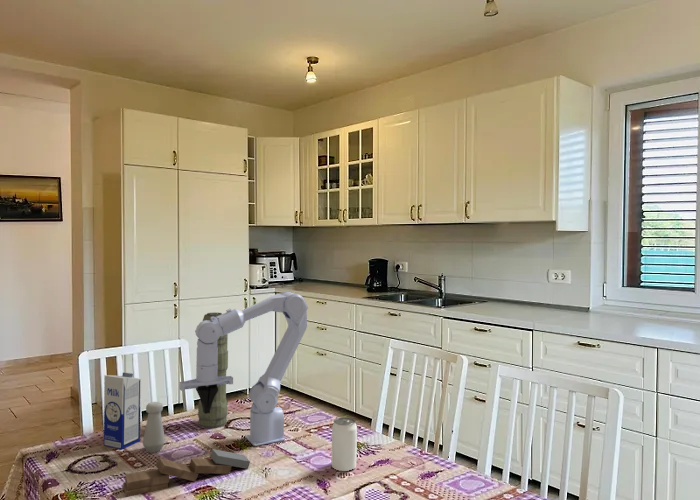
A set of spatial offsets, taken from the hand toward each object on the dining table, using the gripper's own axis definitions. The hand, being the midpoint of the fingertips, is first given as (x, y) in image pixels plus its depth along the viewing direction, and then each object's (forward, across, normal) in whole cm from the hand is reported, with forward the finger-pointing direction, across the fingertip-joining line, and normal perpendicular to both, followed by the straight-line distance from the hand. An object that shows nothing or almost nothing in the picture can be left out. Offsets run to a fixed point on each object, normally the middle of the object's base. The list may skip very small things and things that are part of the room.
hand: (206, 412), depth 144 cm
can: (+10, -28, +29) cm, 42 cm away
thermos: (+10, -7, -18) cm, 22 cm away
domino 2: (+10, +14, +17) cm, 24 cm away
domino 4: (+9, -1, +16) cm, 19 cm away
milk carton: (+10, +20, -14) cm, 26 cm away
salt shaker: (+10, +13, -5) cm, 17 cm away
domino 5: (+9, -6, +16) cm, 19 cm away
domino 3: (+9, +7, +17) cm, 20 cm away
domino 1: (+8, +14, +17) cm, 23 cm away
